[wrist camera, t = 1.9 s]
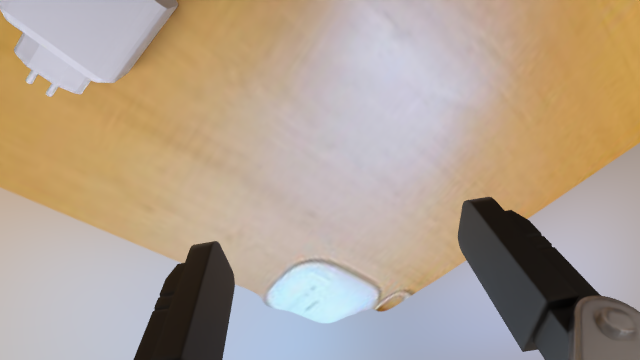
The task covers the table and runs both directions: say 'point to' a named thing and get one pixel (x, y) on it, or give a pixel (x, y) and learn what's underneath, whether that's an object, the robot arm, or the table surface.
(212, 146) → the table surface
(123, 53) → the charger
